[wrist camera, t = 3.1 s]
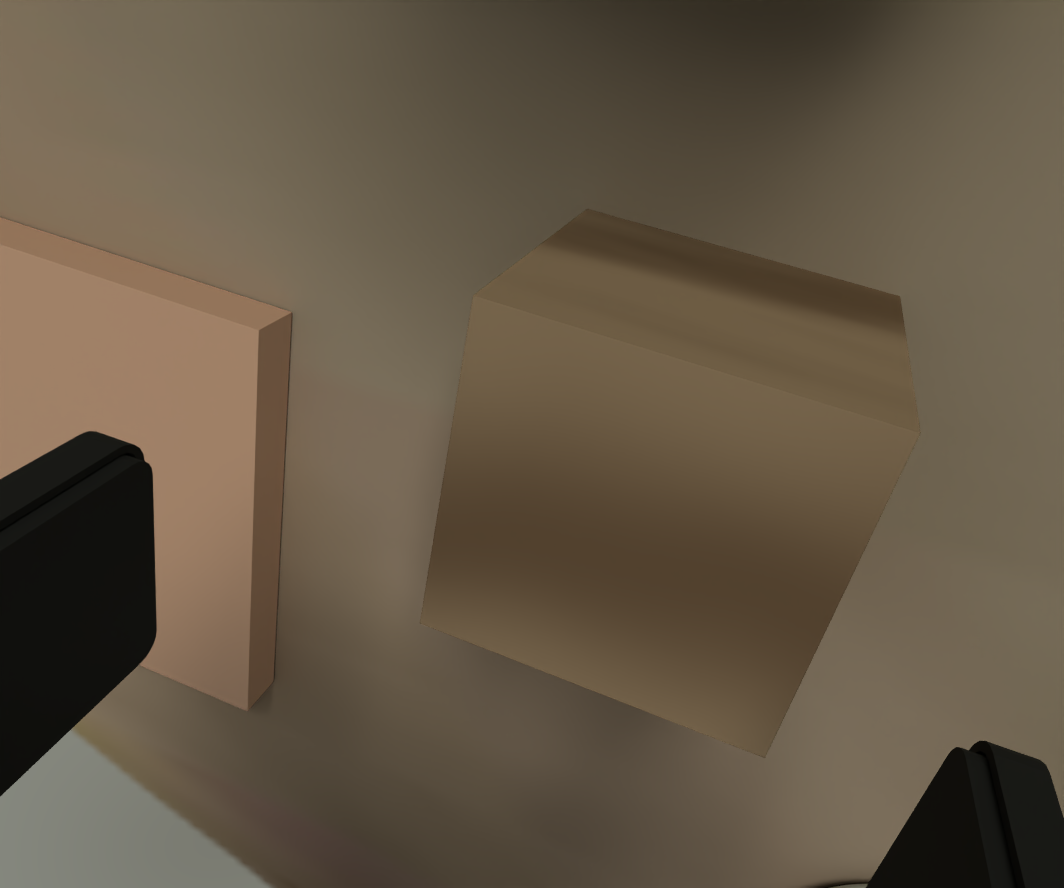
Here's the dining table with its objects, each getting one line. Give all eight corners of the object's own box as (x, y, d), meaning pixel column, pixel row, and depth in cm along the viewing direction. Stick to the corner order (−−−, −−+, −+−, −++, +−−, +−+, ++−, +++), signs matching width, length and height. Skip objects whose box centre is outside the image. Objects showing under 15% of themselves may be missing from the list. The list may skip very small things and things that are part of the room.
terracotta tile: (-118, 179, 20) (-169, 188, 19) (291, 312, 18) (258, 330, 17) (-48, 546, 26) (-85, 569, 25) (273, 681, 24) (247, 711, 23)
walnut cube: (588, 208, 15) (473, 295, 11) (899, 295, 14) (920, 433, 10) (531, 465, 18) (419, 623, 14) (789, 553, 17) (764, 758, 13)
